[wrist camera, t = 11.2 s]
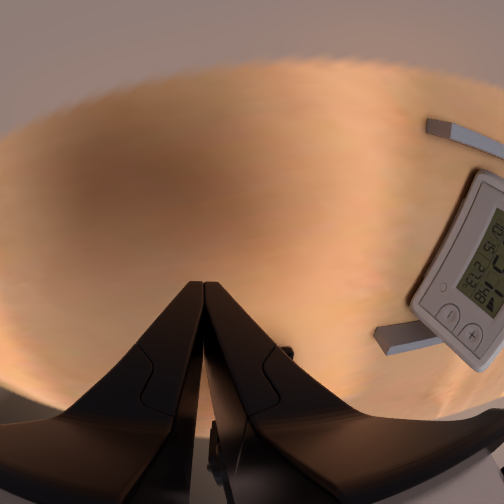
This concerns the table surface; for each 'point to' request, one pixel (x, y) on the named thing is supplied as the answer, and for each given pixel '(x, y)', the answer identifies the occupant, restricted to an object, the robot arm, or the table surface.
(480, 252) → the digital clock
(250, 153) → the table surface
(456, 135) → the gray bracket
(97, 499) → the robot arm
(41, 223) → the table surface
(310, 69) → the table surface
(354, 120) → the table surface
